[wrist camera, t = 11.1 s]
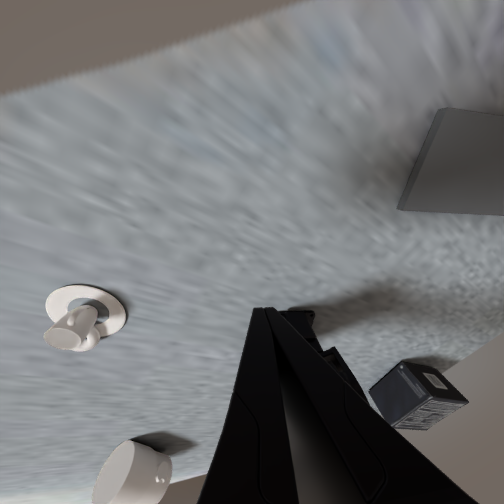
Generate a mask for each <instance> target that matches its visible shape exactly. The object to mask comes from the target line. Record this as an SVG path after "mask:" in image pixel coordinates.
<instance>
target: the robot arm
mask: <svg viewBox="0 0 504 504" xmlns="http://www.w3.org/2000/svg"><path fill="white" fill-rule="evenodd" d="M314 317H315V313H314V311H287V312H278V311H277V310H276V309H275V308H274V307H265V308H262V307H260V308H254V309H253V312H252V316H251V320H250V324H249V328H248V332H247V336H246V340H245V344H244V348H243V352H242V356H241V360H240V364H239V368H238V372H237V377H236V381H235V385H234V389H233V393H232V396H231V400H230V404H229V408H228V412H227V415H226V419H225V423H224V426H223V430H222V433H221V436H220V439H219V442H218V445H217V448H216V451H215V454H214V457H213V460H212V462H211V465H210V468H209V471H208V473H207V476H206V479H205V482H204V484H203V487H202V490H201V493H200V495H199V498H198V501H197V504H479V503H478V502H476V501H475V500H474V499H473V498H472V497H470V496H469V495H468V494H467V493H466V492H464V491H463V490H462V489H461V488H460V487H459V486H457V485H456V484H455V483H454V482H453V481H452V480H451V479H449V477H447V476H446V475H445V474H444V473H443V472H442V471H441V470H440V469H439V468H437V467H436V466H435V465H434V464H433V463H432V462H431V461H430V460H429V459H427V458H426V457H425V456H424V455H423V454H422V453H421V452H420V451H419V450H417V449H416V448H415V447H414V446H413V445H412V444H411V443H409V441H407V440H406V439H405V438H404V437H403V436H402V435H401V434H400V433H399V432H397V431H396V430H395V429H394V428H393V427H392V426H391V425H390V424H389V423H388V422H387V421H386V420H384V419H383V418H382V417H381V416H380V415H379V414H378V413H377V412H376V411H375V410H374V409H373V408H372V407H371V406H370V404H369V402H368V400H367V398H366V396H365V394H364V392H363V390H362V388H361V386H360V385H359V383H358V381H357V380H356V378H355V376H354V375H353V373H352V372H351V370H350V369H349V367H348V366H347V364H346V363H345V361H344V360H343V358H342V357H341V355H340V354H339V352H338V351H337V349H336V348H335V346H334V347H332V348H330V349H329V350H326V351H323V349H322V348H321V346H320V344H319V342H318V340H317V338H316V335H315V333H314V331H313V329H312V324H313V320H314Z"/></svg>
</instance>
